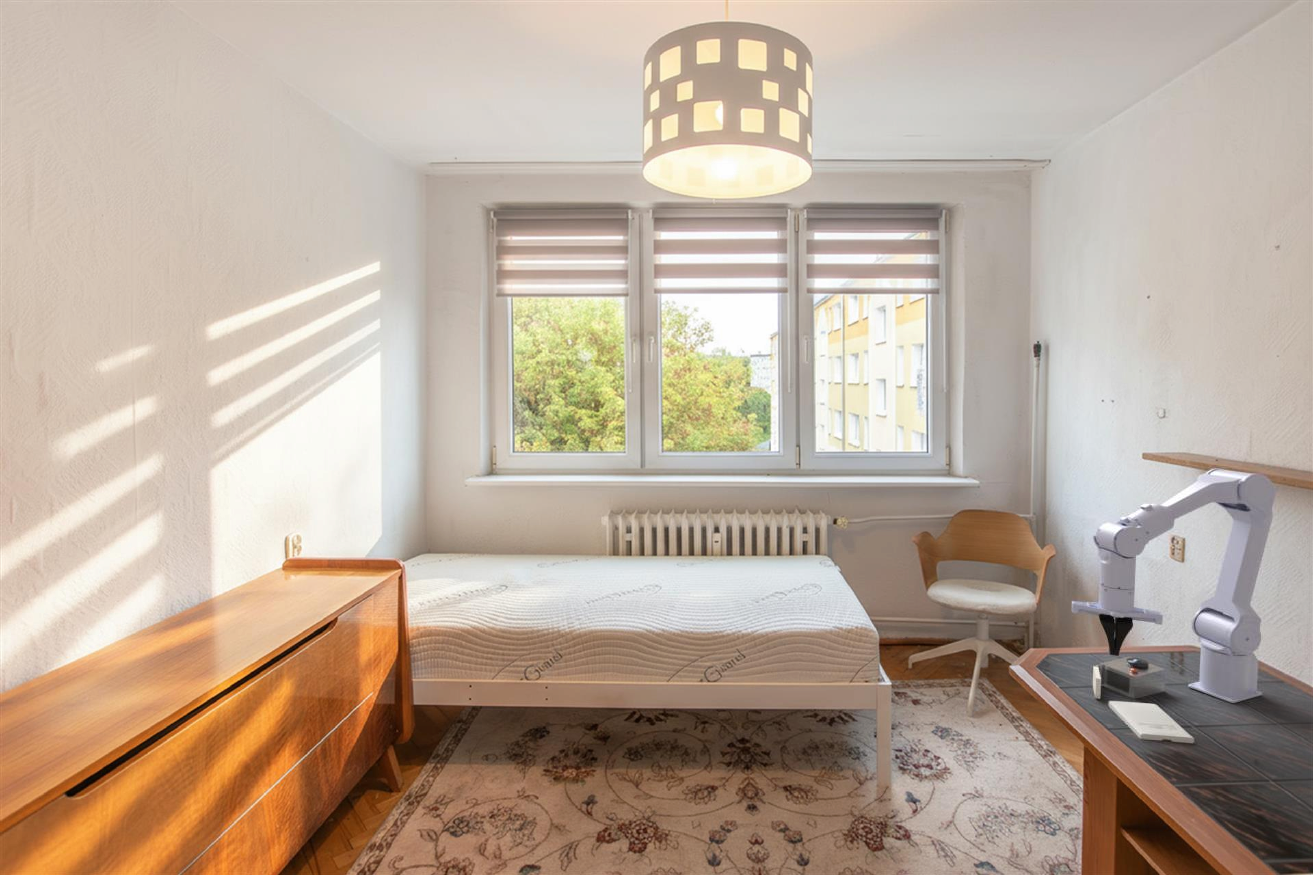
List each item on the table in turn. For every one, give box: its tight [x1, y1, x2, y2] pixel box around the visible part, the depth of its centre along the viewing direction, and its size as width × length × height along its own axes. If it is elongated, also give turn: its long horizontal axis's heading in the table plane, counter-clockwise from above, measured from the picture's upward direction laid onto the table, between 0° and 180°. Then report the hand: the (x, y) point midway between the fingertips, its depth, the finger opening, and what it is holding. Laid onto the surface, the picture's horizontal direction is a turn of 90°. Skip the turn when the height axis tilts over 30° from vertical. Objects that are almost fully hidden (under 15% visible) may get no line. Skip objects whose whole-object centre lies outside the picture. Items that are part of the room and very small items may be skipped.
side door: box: [1092, 664, 1102, 700], centre depth 135 cm, size 1×8×4 cm, turn 151°
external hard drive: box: [1108, 700, 1195, 744], centre depth 122 cm, size 2×8×12 cm
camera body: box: [1099, 656, 1167, 700], centre depth 136 cm, size 9×7×6 cm
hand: (1113, 653), depth 132 cm, fingers closed
